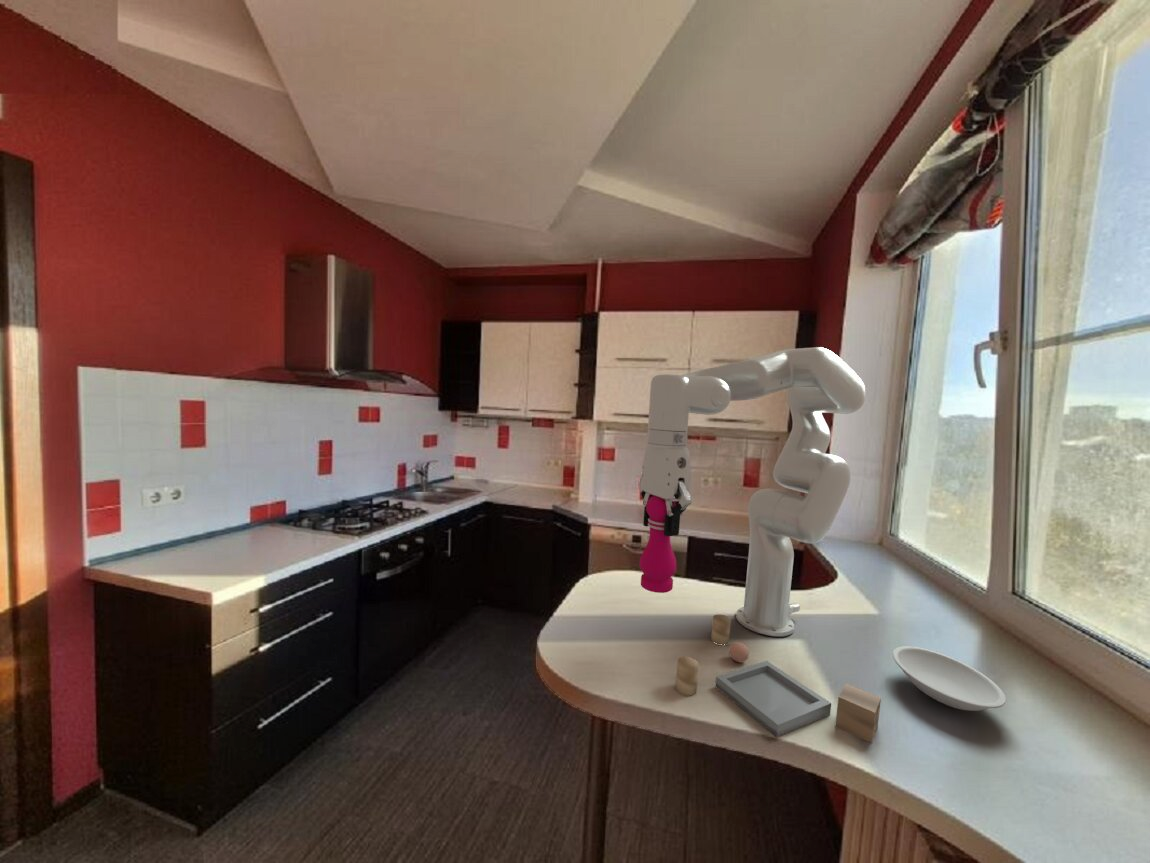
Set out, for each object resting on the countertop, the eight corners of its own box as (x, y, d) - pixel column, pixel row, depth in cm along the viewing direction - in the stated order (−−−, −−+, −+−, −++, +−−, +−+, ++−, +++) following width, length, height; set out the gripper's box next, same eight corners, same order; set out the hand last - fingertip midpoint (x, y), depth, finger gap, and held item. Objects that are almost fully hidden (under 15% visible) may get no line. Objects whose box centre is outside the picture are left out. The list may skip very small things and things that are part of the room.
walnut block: (842, 711, 77) (845, 683, 77) (877, 727, 74) (881, 697, 73) (835, 726, 73) (838, 696, 73) (871, 743, 70) (875, 712, 69)
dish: (870, 667, 91) (873, 643, 90) (944, 672, 90) (947, 648, 90) (938, 732, 73) (942, 703, 73) (1030, 739, 73) (1034, 709, 72)
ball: (737, 653, 93) (739, 637, 92) (752, 663, 89) (753, 646, 89) (724, 657, 91) (726, 640, 91) (738, 667, 88) (740, 649, 87)
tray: (765, 670, 87) (766, 660, 87) (830, 714, 76) (831, 703, 76) (715, 686, 81) (716, 676, 81) (776, 737, 70) (777, 724, 70)
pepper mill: (675, 596, 86) (682, 492, 84) (636, 591, 87) (643, 488, 86) (674, 581, 93) (681, 485, 91) (639, 577, 94) (645, 482, 93)
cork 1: (686, 681, 83) (689, 654, 82) (700, 693, 79) (702, 666, 79) (671, 685, 81) (673, 659, 81) (684, 698, 78) (686, 670, 77)
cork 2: (719, 635, 100) (721, 613, 99) (732, 643, 97) (734, 621, 96) (707, 638, 98) (709, 616, 98) (719, 647, 95) (721, 624, 94)
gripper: (713, 444, 82) (705, 542, 83) (655, 434, 97) (649, 517, 99) (680, 444, 78) (673, 546, 80) (626, 434, 94) (620, 520, 95)
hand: (660, 529), depth 89 cm, fingers closed on pepper mill, 5 cm apart
